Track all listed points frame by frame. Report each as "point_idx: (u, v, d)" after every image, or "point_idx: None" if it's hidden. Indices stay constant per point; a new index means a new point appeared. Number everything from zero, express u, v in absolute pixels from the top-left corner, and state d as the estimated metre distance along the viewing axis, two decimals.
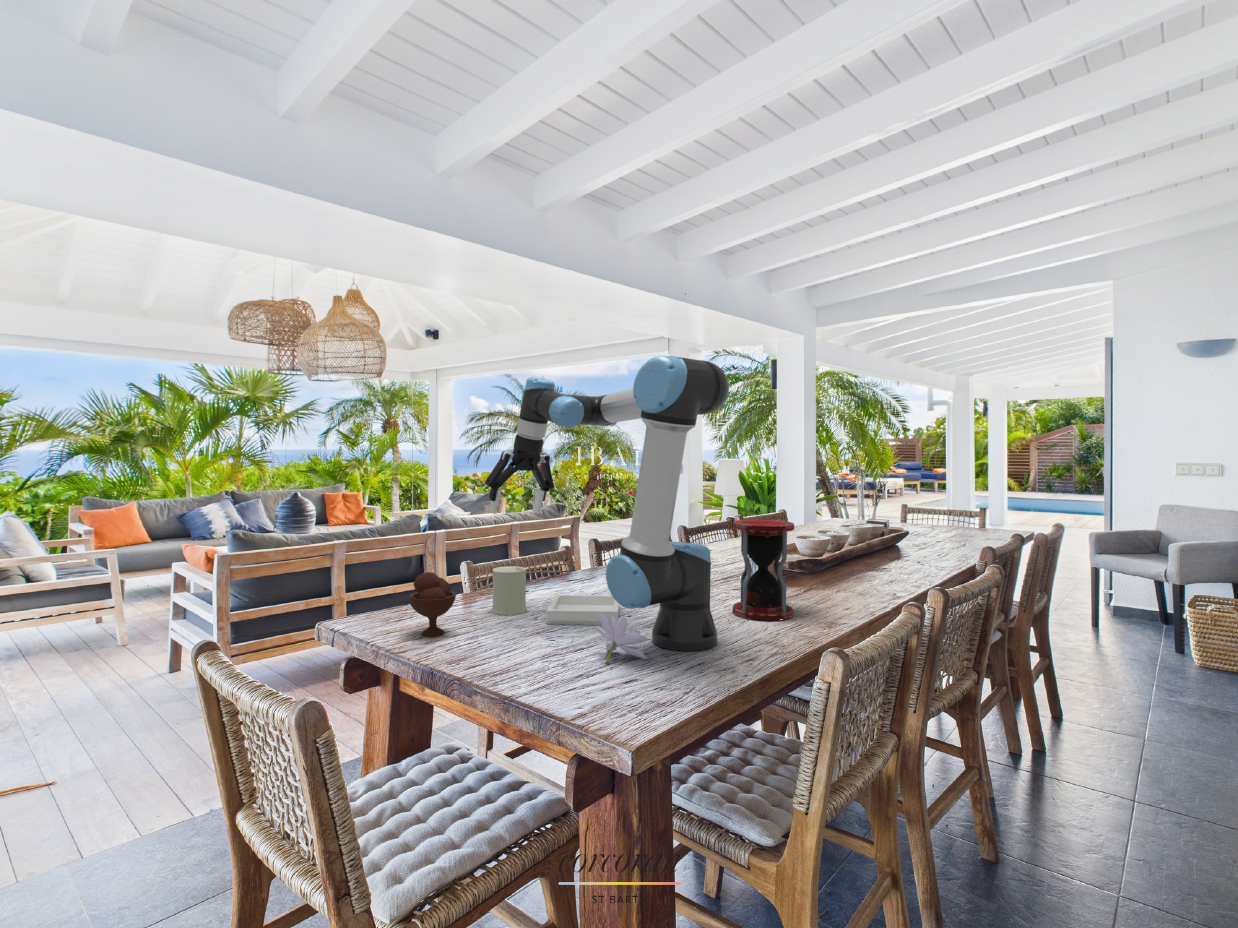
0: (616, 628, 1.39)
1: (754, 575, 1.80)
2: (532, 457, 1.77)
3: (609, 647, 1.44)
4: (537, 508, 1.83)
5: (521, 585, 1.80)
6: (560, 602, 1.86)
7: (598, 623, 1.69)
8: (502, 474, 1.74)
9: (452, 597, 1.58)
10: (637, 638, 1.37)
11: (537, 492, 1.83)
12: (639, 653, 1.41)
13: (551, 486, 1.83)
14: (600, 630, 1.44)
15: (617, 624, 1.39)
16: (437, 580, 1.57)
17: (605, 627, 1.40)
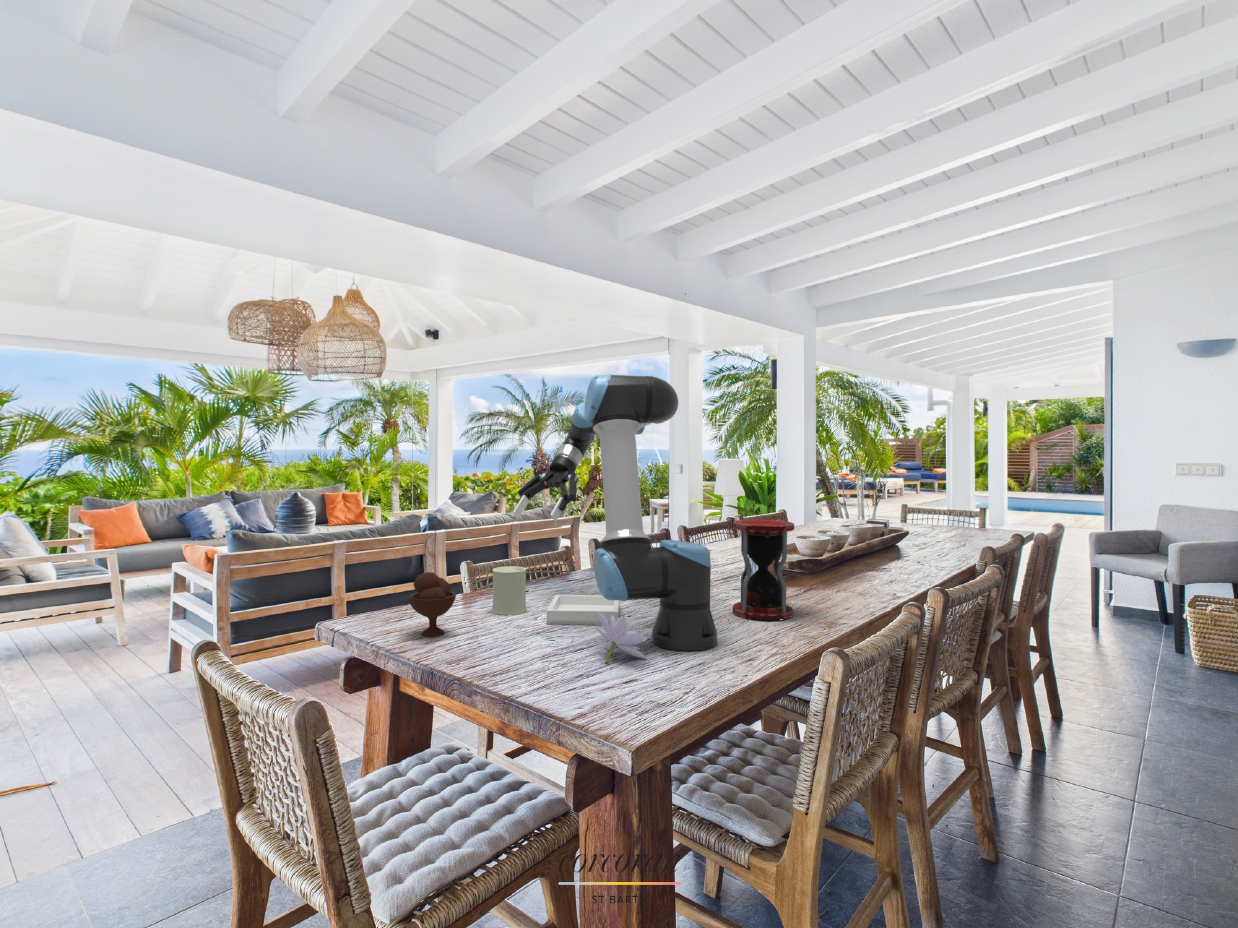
0: (615, 628, 1.39)
1: (754, 575, 1.80)
2: (559, 473, 1.99)
3: (609, 647, 1.44)
4: None
5: (521, 585, 1.80)
6: (560, 602, 1.86)
7: (598, 623, 1.69)
8: None
9: (452, 597, 1.58)
10: (636, 638, 1.37)
11: None
12: (639, 653, 1.41)
13: (570, 494, 1.90)
14: (600, 630, 1.44)
15: (616, 624, 1.39)
16: (437, 580, 1.57)
17: (605, 627, 1.40)
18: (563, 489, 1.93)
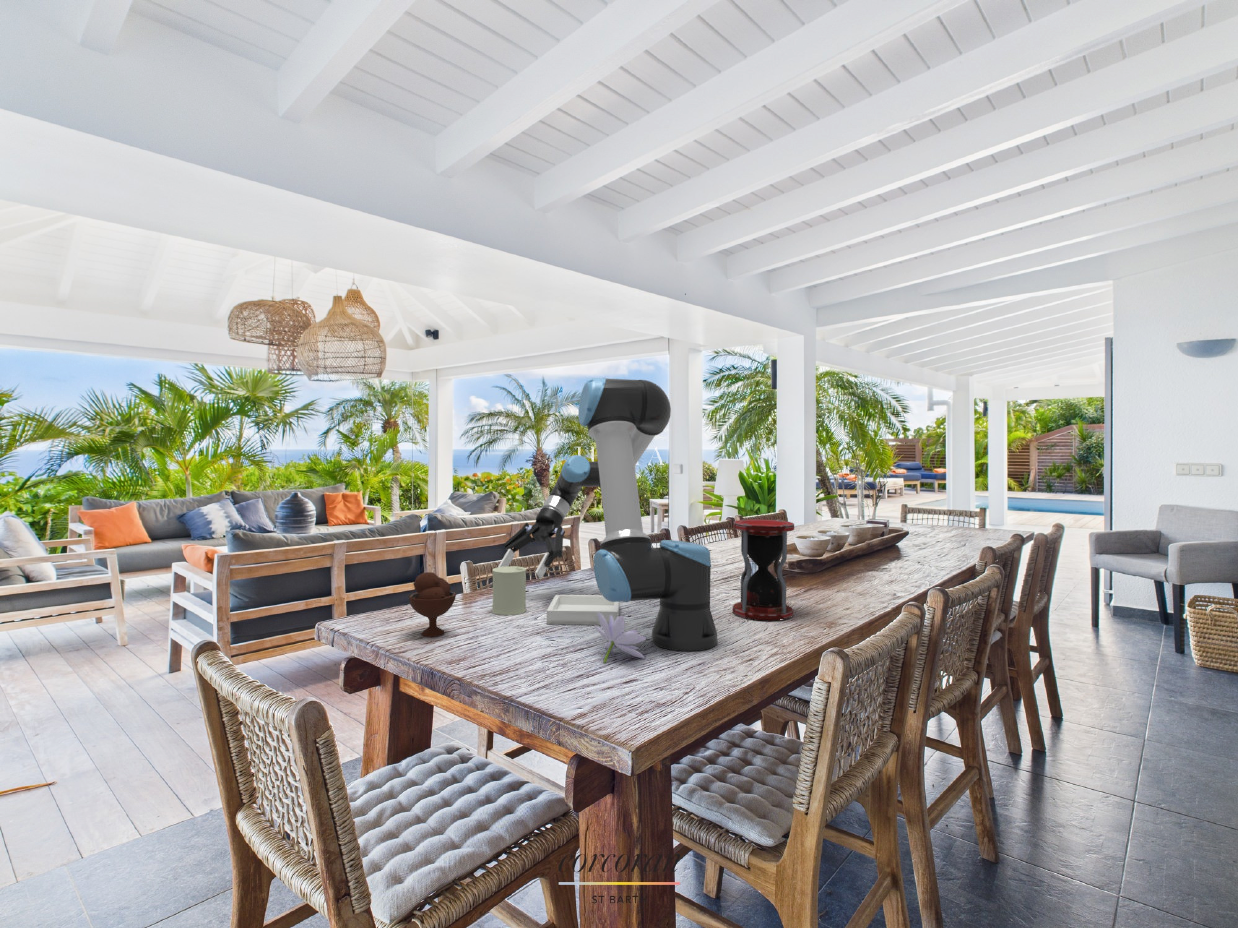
0: (614, 628, 1.39)
1: (754, 575, 1.80)
2: (546, 526, 1.94)
3: (608, 646, 1.44)
4: None
5: (521, 585, 1.80)
6: (560, 602, 1.86)
7: (598, 623, 1.69)
8: None
9: (452, 597, 1.58)
10: (635, 638, 1.37)
11: None
12: (637, 653, 1.41)
13: (555, 550, 1.86)
14: (599, 629, 1.45)
15: (615, 624, 1.39)
16: (437, 580, 1.57)
17: (603, 626, 1.41)
18: (549, 544, 1.88)
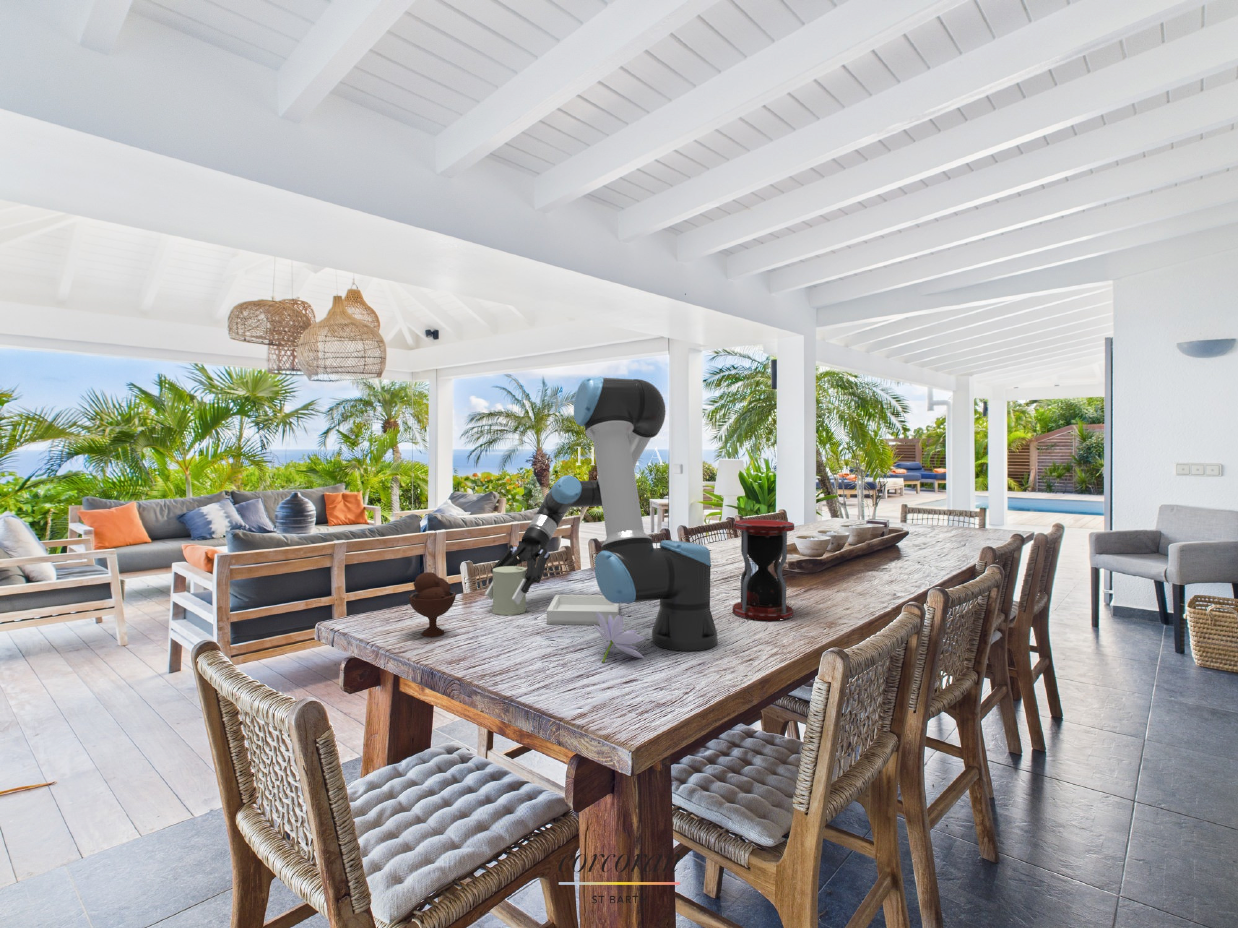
0: (613, 627, 1.40)
1: (754, 575, 1.80)
2: (532, 547, 1.88)
3: (607, 646, 1.45)
4: None
5: None
6: (560, 602, 1.86)
7: (598, 623, 1.69)
8: None
9: (452, 597, 1.58)
10: (633, 637, 1.37)
11: None
12: (636, 652, 1.41)
13: (533, 575, 1.80)
14: (598, 629, 1.45)
15: (613, 623, 1.39)
16: (437, 580, 1.57)
17: (602, 626, 1.41)
18: (529, 568, 1.82)
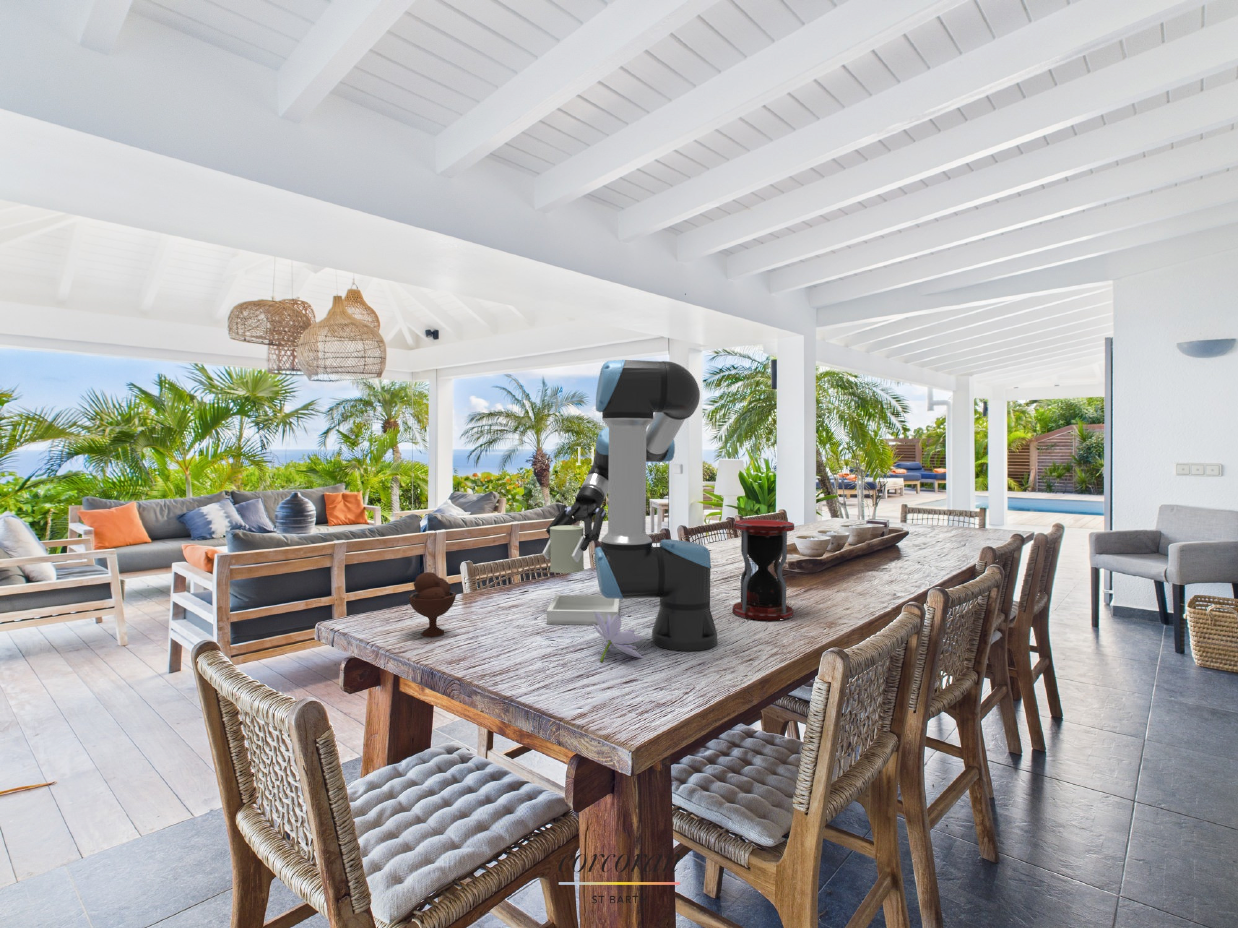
0: (611, 627, 1.40)
1: (754, 575, 1.80)
2: (588, 506, 1.85)
3: (605, 645, 1.45)
4: None
5: None
6: (560, 602, 1.86)
7: None
8: None
9: (452, 597, 1.58)
10: (631, 637, 1.38)
11: None
12: (634, 652, 1.42)
13: (592, 533, 1.77)
14: (597, 628, 1.45)
15: (611, 623, 1.40)
16: (437, 580, 1.57)
17: (600, 625, 1.41)
18: (587, 526, 1.79)
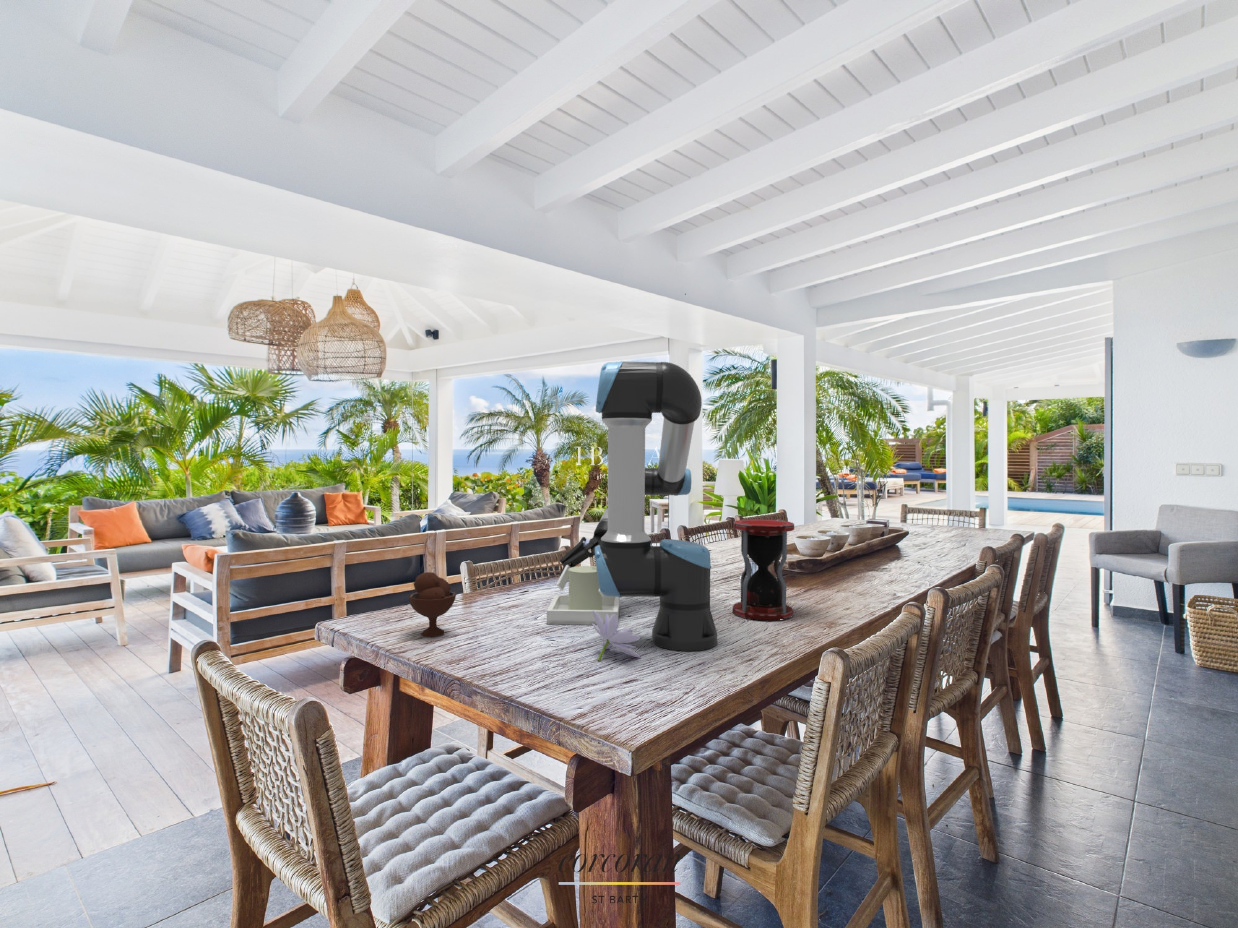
0: (608, 626, 1.40)
1: (754, 575, 1.80)
2: None
3: (604, 645, 1.45)
4: None
5: None
6: (560, 602, 1.86)
7: None
8: None
9: (452, 597, 1.58)
10: (628, 637, 1.38)
11: None
12: (632, 652, 1.42)
13: None
14: (595, 628, 1.46)
15: (609, 622, 1.40)
16: (437, 580, 1.57)
17: (598, 625, 1.42)
18: None
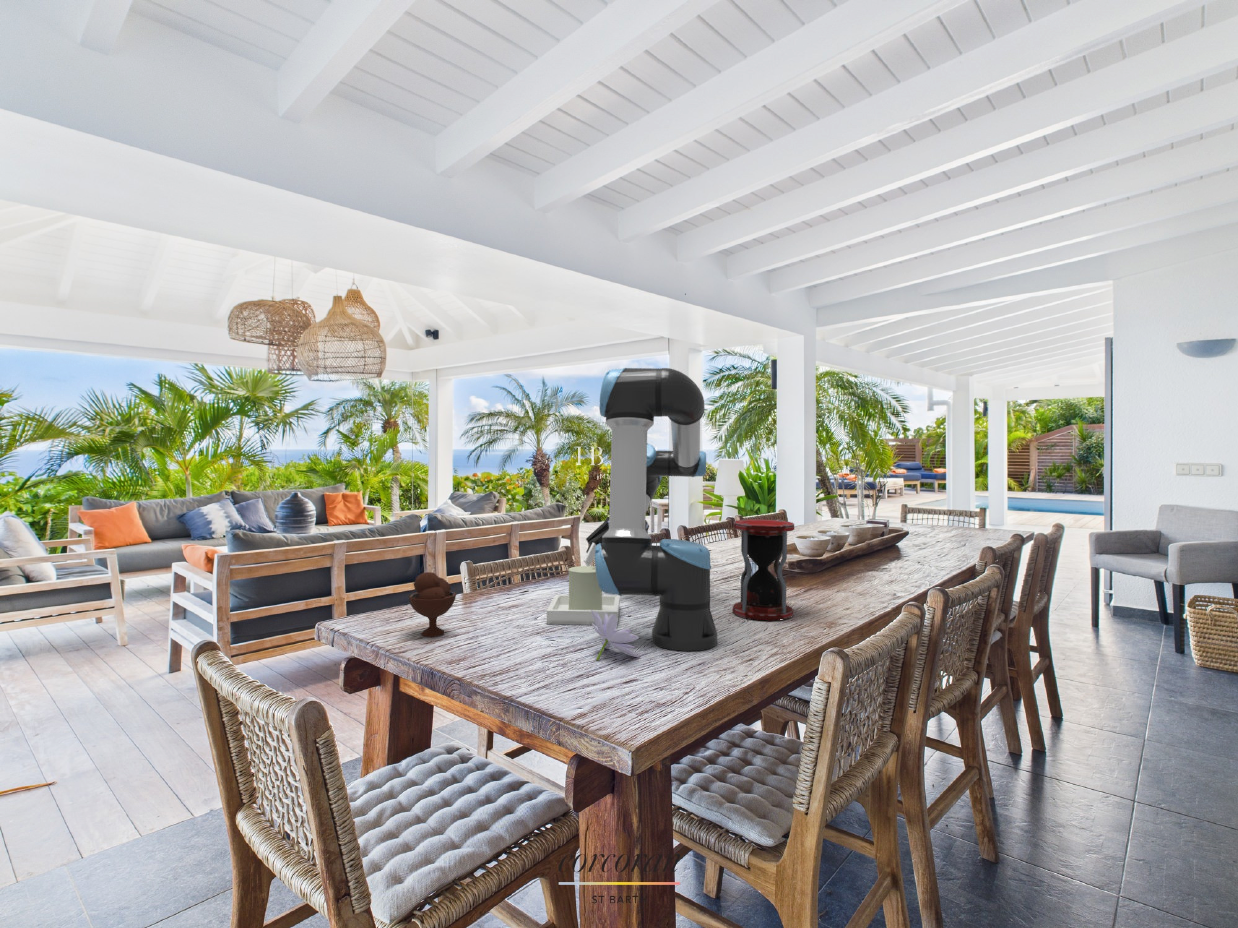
0: (607, 626, 1.41)
1: (754, 575, 1.80)
2: None
3: (603, 644, 1.46)
4: None
5: None
6: (560, 602, 1.86)
7: None
8: None
9: (452, 597, 1.58)
10: (626, 636, 1.38)
11: None
12: (631, 651, 1.42)
13: None
14: (595, 627, 1.46)
15: (608, 622, 1.40)
16: (437, 580, 1.57)
17: (597, 624, 1.42)
18: None
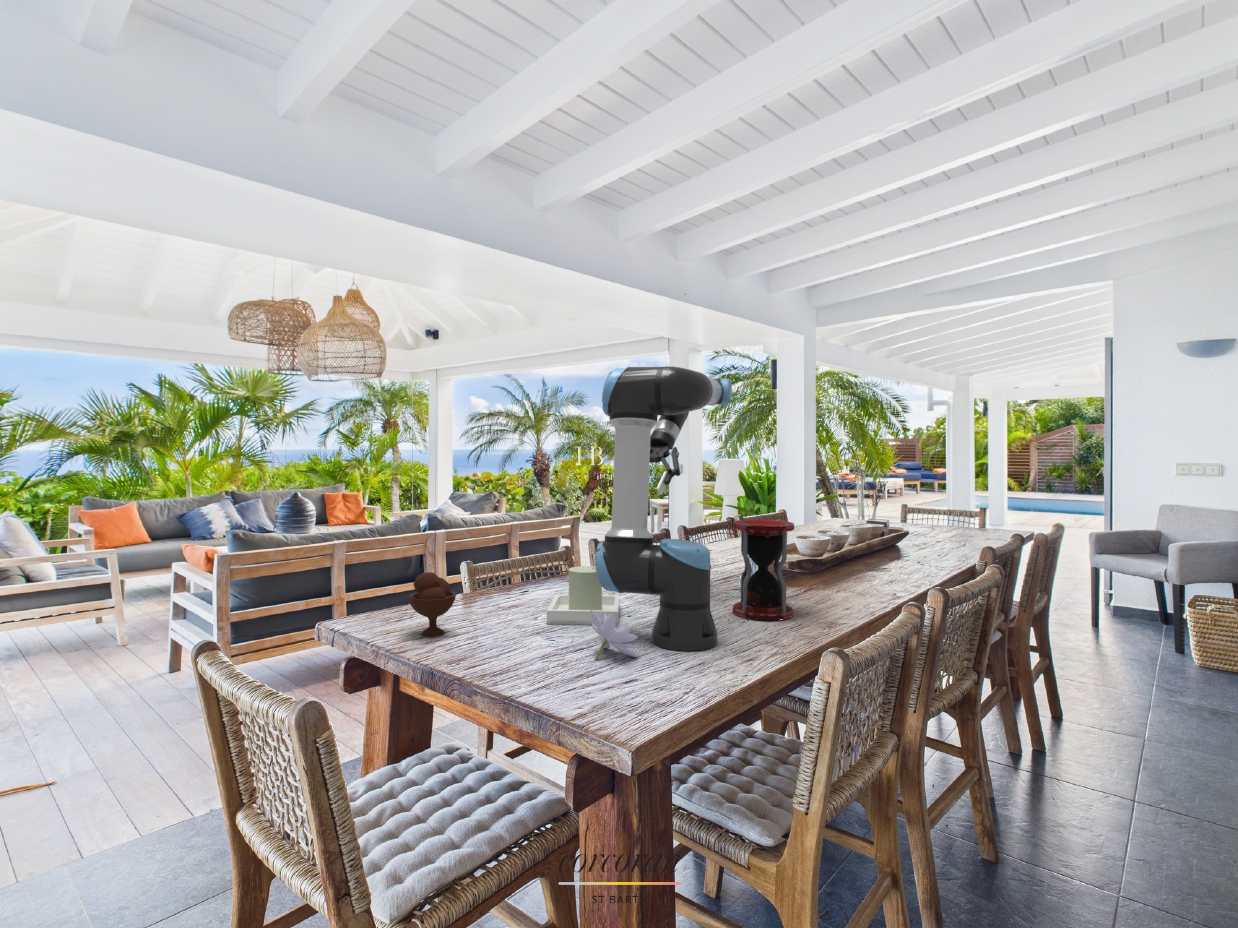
0: (606, 625, 1.41)
1: (754, 575, 1.80)
2: None
3: (603, 644, 1.46)
4: None
5: (599, 585, 1.75)
6: (560, 602, 1.86)
7: None
8: None
9: (452, 597, 1.58)
10: (624, 636, 1.38)
11: None
12: (630, 651, 1.42)
13: (674, 468, 1.87)
14: (594, 627, 1.47)
15: (606, 621, 1.41)
16: (437, 580, 1.57)
17: (596, 624, 1.43)
18: (666, 463, 1.90)
